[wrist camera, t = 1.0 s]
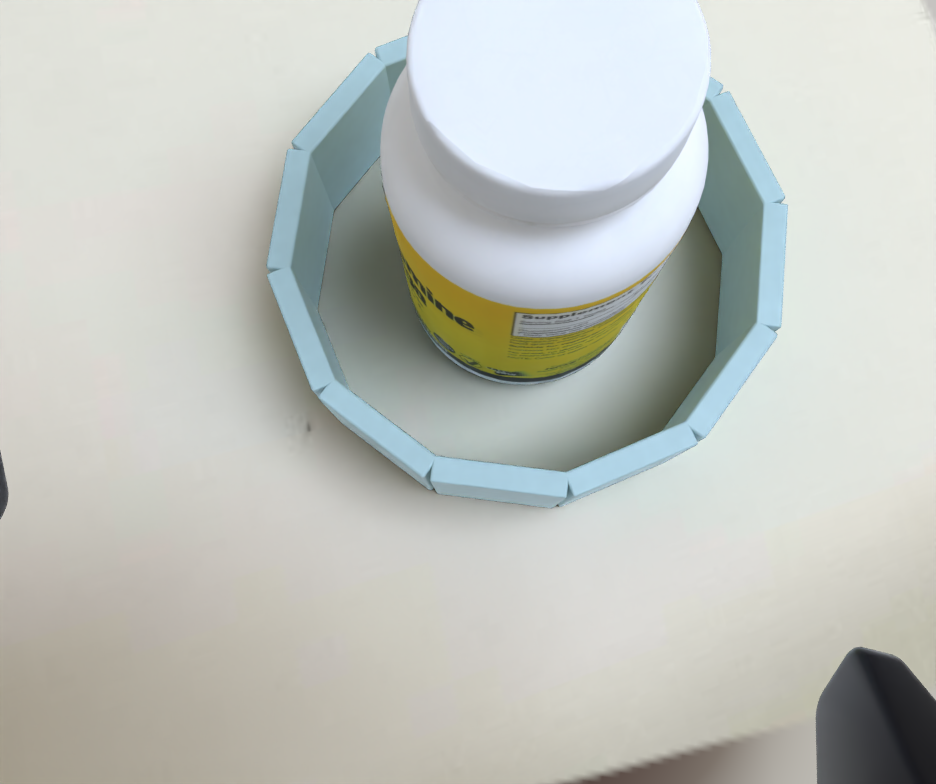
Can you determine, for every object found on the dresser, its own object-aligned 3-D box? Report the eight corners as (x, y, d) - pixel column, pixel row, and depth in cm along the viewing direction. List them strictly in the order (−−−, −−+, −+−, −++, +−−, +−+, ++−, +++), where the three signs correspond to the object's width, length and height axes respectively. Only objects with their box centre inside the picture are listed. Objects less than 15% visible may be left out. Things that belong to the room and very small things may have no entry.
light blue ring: (725, 530, 22) (771, 524, 19) (268, 472, 23) (230, 456, 19) (752, 108, 25) (797, 34, 21) (338, 63, 25) (316, -16, 22)
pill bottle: (384, 212, 24) (309, -76, 13) (592, 154, 24) (685, -173, 14) (444, 418, 23) (415, 289, 12) (662, 356, 23) (825, 174, 12)
